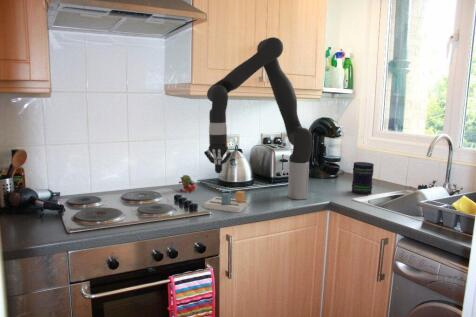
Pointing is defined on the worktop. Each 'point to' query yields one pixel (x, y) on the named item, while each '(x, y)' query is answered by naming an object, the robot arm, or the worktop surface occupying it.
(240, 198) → the fader orange
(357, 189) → the storage jar
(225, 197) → the fader teal
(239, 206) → the console
